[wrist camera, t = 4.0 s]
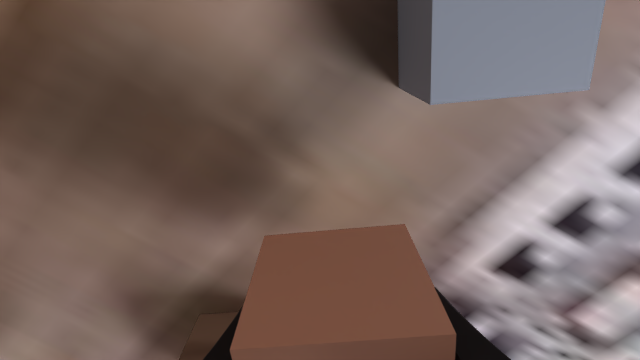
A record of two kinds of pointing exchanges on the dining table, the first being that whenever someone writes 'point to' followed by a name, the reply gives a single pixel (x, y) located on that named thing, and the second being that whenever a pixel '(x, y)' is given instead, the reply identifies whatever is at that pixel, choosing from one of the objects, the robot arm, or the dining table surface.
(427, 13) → the slate block
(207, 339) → the walnut block
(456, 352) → the robot arm
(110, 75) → the dining table surface
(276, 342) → the terracotta block
